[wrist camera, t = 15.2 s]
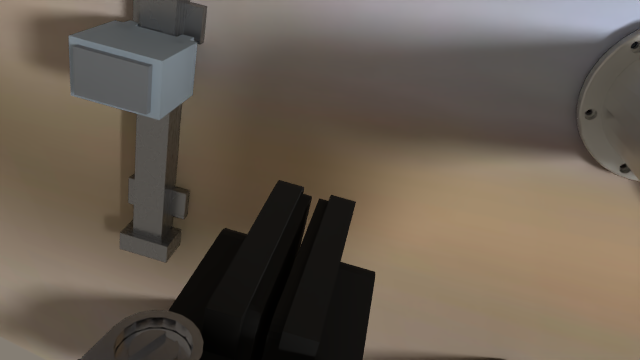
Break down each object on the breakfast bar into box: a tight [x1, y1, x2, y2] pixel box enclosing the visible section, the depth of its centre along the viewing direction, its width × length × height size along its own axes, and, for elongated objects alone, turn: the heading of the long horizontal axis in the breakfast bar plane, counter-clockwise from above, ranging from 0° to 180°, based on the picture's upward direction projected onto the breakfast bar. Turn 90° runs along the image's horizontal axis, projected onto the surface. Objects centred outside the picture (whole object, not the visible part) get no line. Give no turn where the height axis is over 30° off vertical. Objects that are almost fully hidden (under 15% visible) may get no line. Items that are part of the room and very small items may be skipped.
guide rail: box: [120, 0, 207, 262], centre depth 46 cm, size 27×6×3 cm, turn 168°
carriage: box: [69, 20, 197, 120], centre depth 39 cm, size 4×7×8 cm, turn 78°
